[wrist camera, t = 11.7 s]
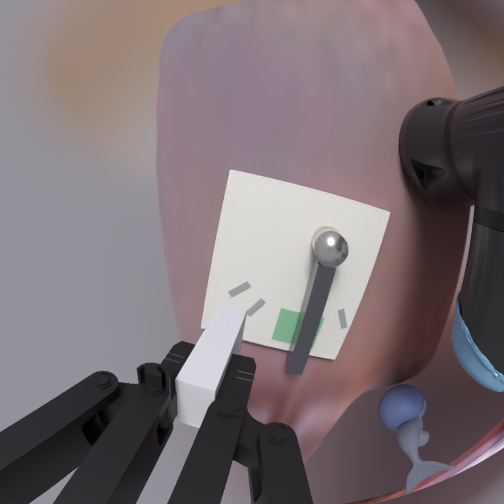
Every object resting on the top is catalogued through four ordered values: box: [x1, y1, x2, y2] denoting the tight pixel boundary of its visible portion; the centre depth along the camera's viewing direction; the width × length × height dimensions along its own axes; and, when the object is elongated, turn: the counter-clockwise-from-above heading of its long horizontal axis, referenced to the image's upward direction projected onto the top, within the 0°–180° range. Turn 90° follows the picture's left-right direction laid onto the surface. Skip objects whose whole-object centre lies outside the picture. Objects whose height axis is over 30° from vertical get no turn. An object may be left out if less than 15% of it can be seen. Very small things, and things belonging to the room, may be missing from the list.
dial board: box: [201, 170, 390, 360], centre depth 34 cm, size 20×22×2 cm
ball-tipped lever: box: [287, 226, 349, 375], centre depth 31 cm, size 19×4×4 cm, turn 170°
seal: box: [379, 384, 454, 494], centre depth 29 cm, size 8×12×20 cm
